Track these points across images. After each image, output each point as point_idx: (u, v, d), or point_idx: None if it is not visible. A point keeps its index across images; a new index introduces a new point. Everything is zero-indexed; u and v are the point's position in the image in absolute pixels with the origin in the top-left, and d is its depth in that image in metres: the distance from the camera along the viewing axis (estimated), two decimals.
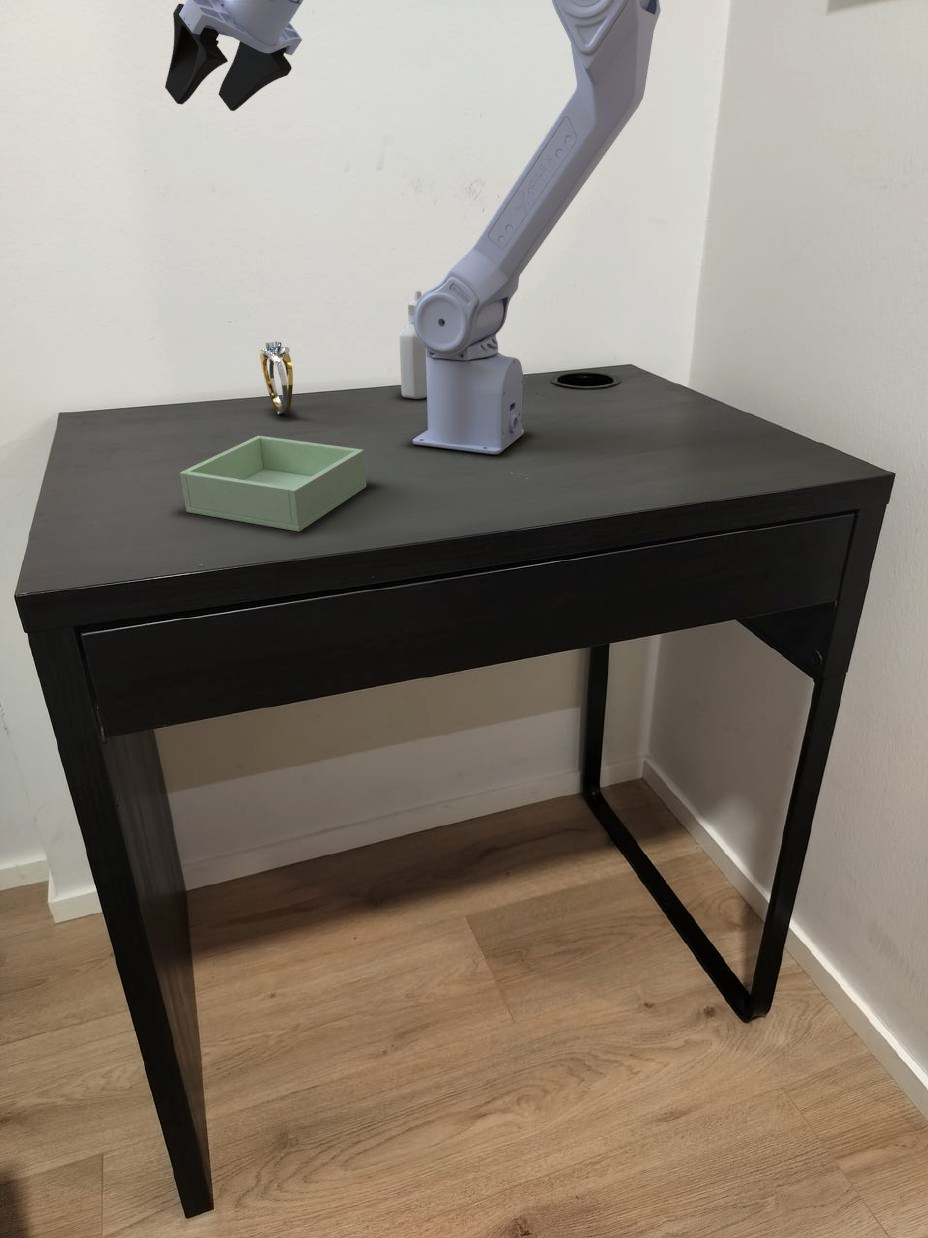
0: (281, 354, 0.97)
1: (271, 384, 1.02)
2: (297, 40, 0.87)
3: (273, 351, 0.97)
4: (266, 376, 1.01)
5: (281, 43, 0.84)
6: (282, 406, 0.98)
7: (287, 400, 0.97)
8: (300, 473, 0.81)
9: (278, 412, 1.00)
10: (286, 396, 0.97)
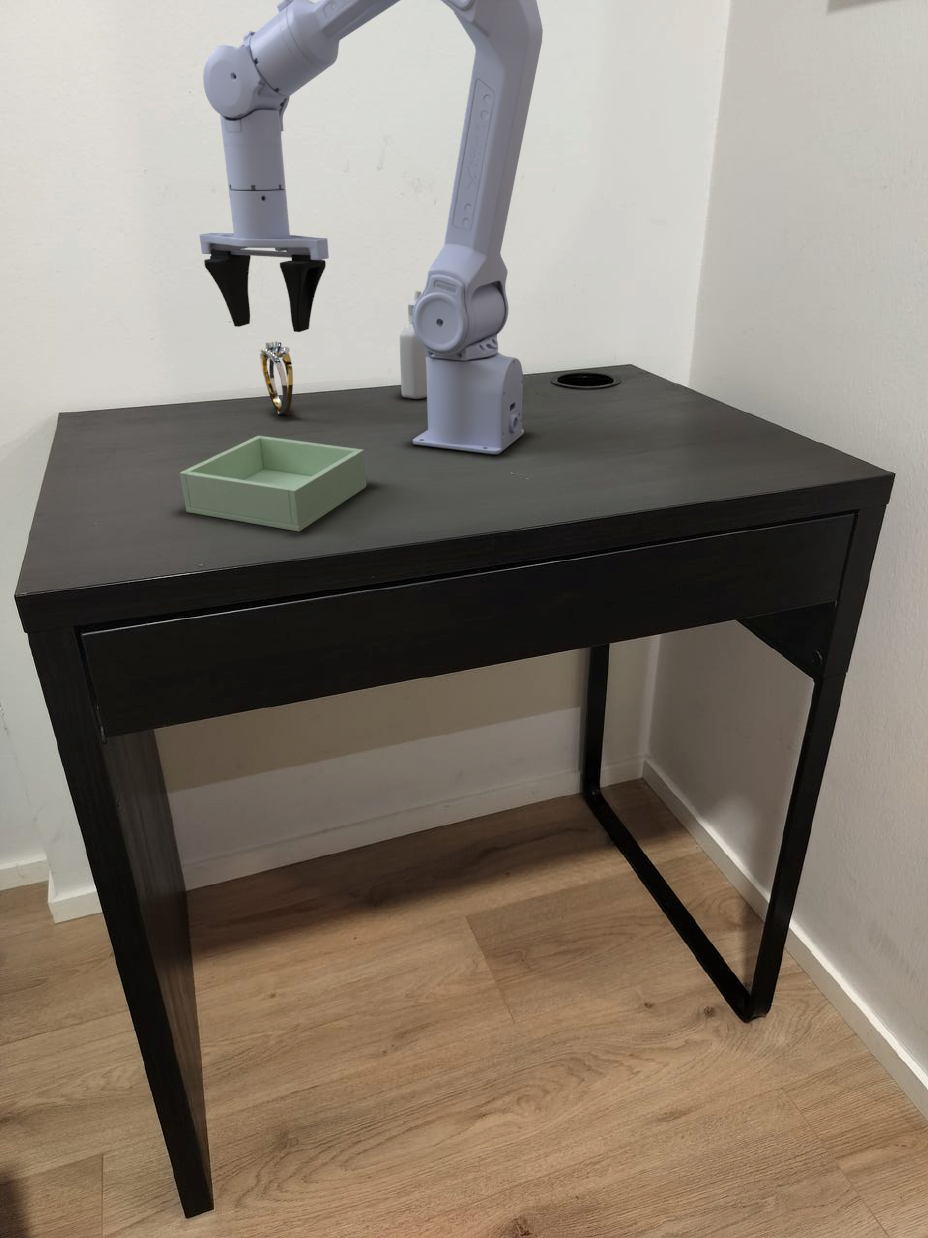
0: (281, 354, 0.97)
1: (271, 384, 1.02)
2: (311, 241, 0.89)
3: (273, 351, 0.97)
4: (266, 376, 1.01)
5: (270, 239, 0.89)
6: (282, 406, 0.98)
7: (287, 400, 0.97)
8: (300, 473, 0.81)
9: (278, 412, 1.00)
10: (286, 396, 0.97)
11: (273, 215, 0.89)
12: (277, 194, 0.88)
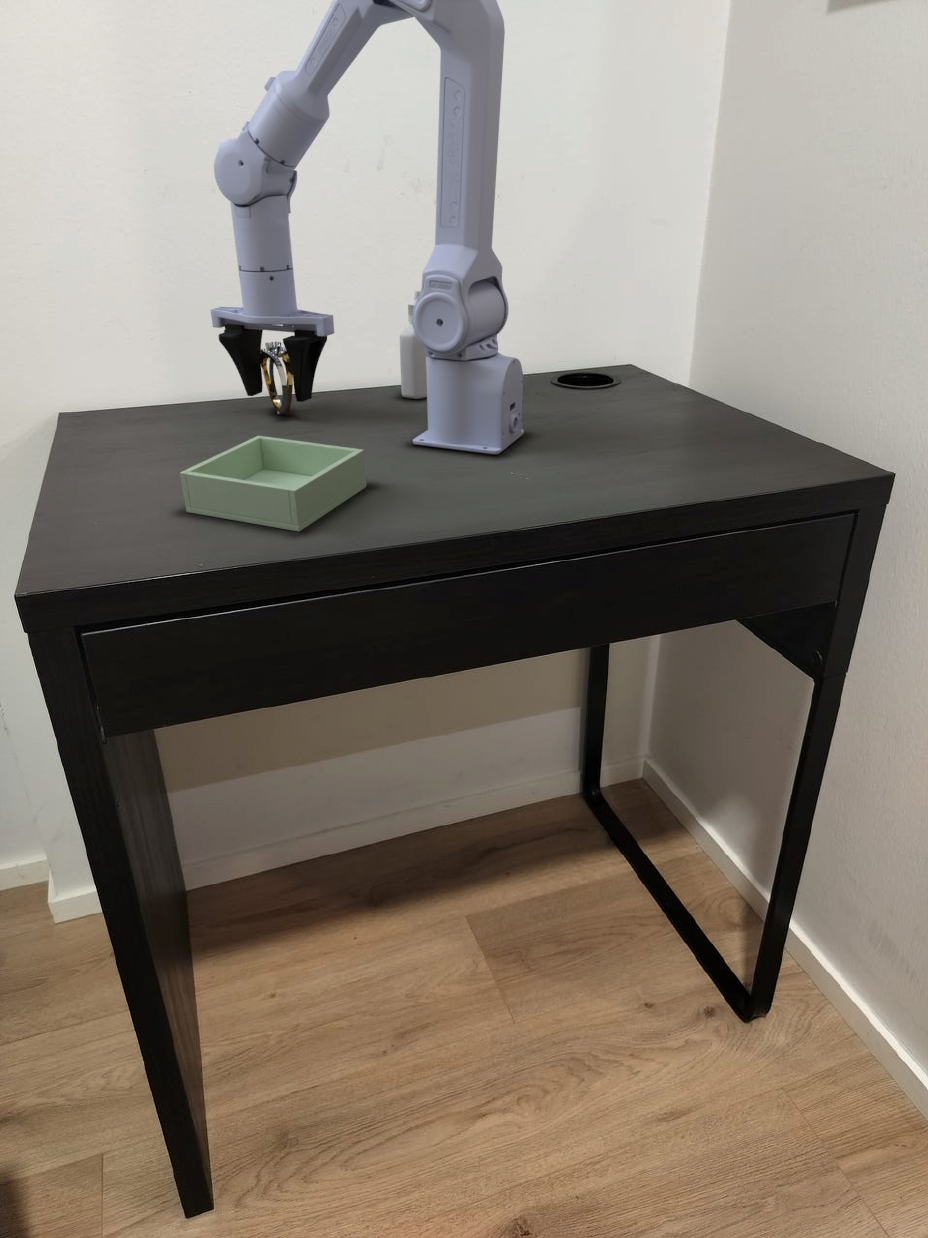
0: (281, 354, 0.97)
1: (271, 384, 1.02)
2: (317, 319, 0.92)
3: (273, 351, 0.97)
4: (266, 376, 1.01)
5: (278, 317, 0.93)
6: (282, 406, 0.98)
7: (287, 400, 0.97)
8: (300, 473, 0.81)
9: (278, 412, 1.00)
10: (286, 396, 0.97)
11: (281, 294, 0.92)
12: (285, 274, 0.92)
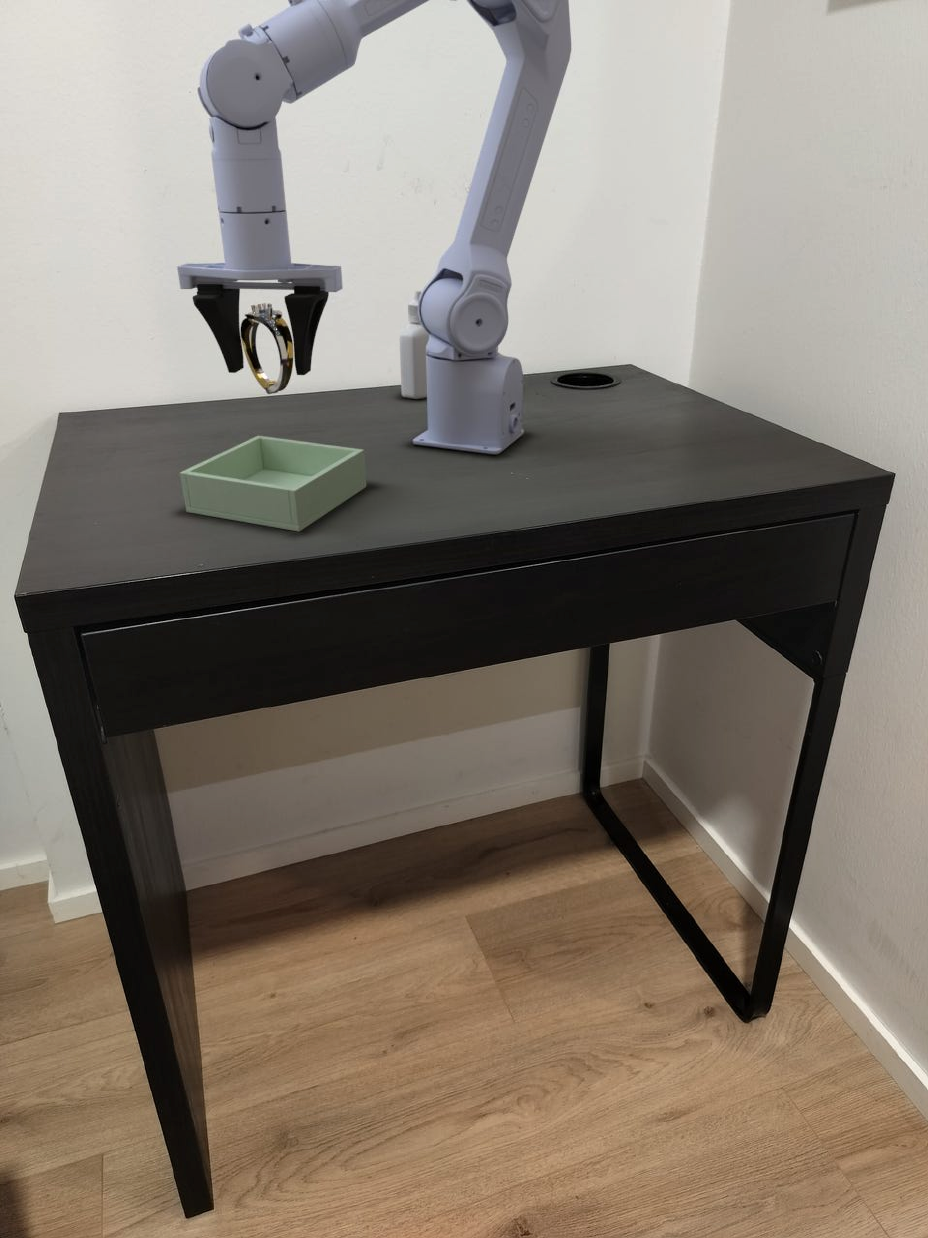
0: (273, 318, 0.79)
1: (253, 358, 0.84)
2: (326, 271, 0.76)
3: (263, 315, 0.79)
4: (248, 348, 0.83)
5: (277, 270, 0.75)
6: (279, 382, 0.81)
7: (286, 374, 0.80)
8: (300, 473, 0.81)
9: (269, 391, 0.82)
10: (286, 369, 0.79)
11: (278, 241, 0.75)
12: (281, 216, 0.75)
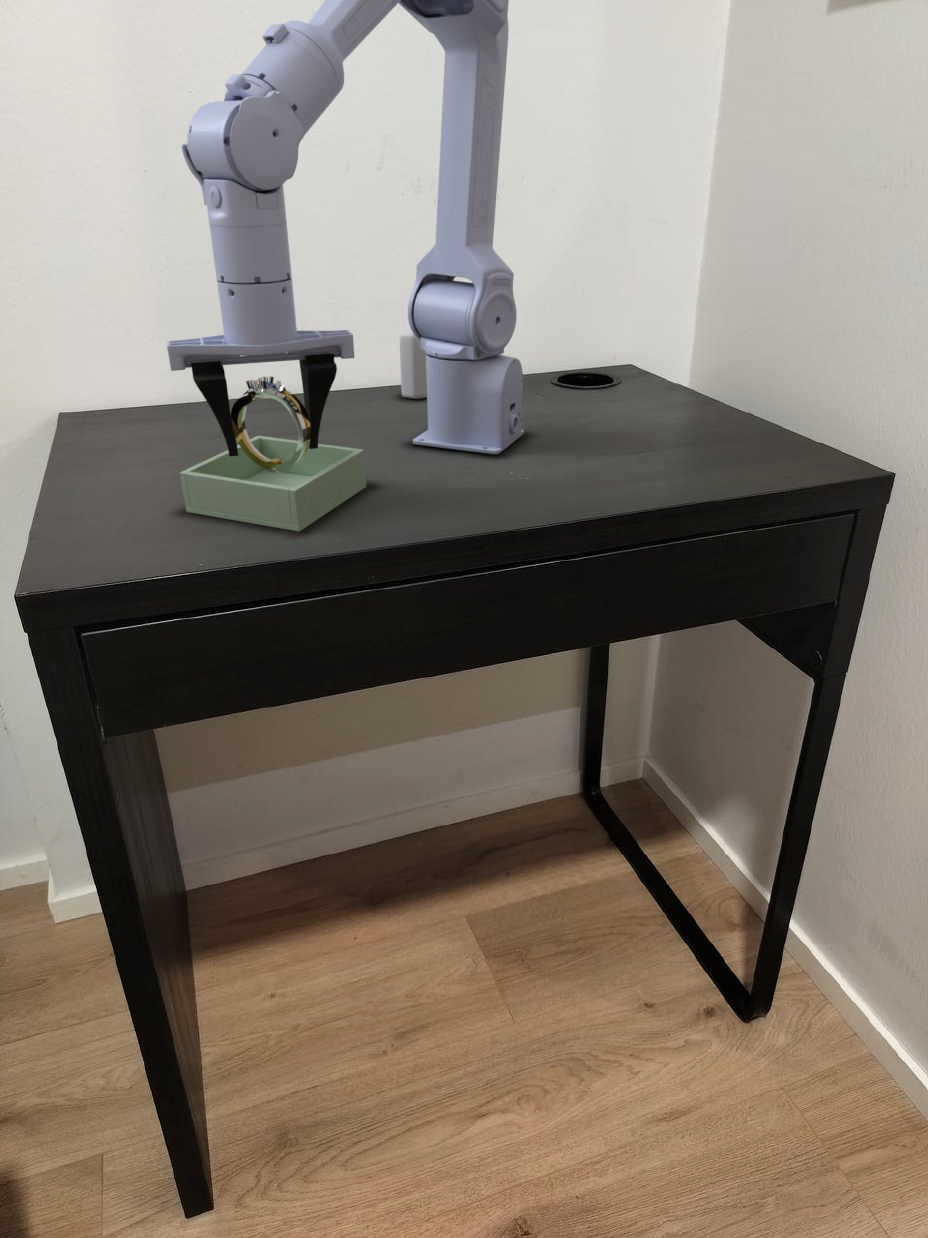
0: (280, 392, 0.73)
1: (243, 436, 0.75)
2: (344, 337, 0.71)
3: (268, 390, 0.72)
4: (239, 426, 0.75)
5: (297, 341, 0.69)
6: (294, 459, 0.74)
7: (303, 450, 0.74)
8: (300, 473, 0.81)
9: (276, 469, 0.75)
10: (305, 445, 0.73)
11: (292, 310, 0.69)
12: None
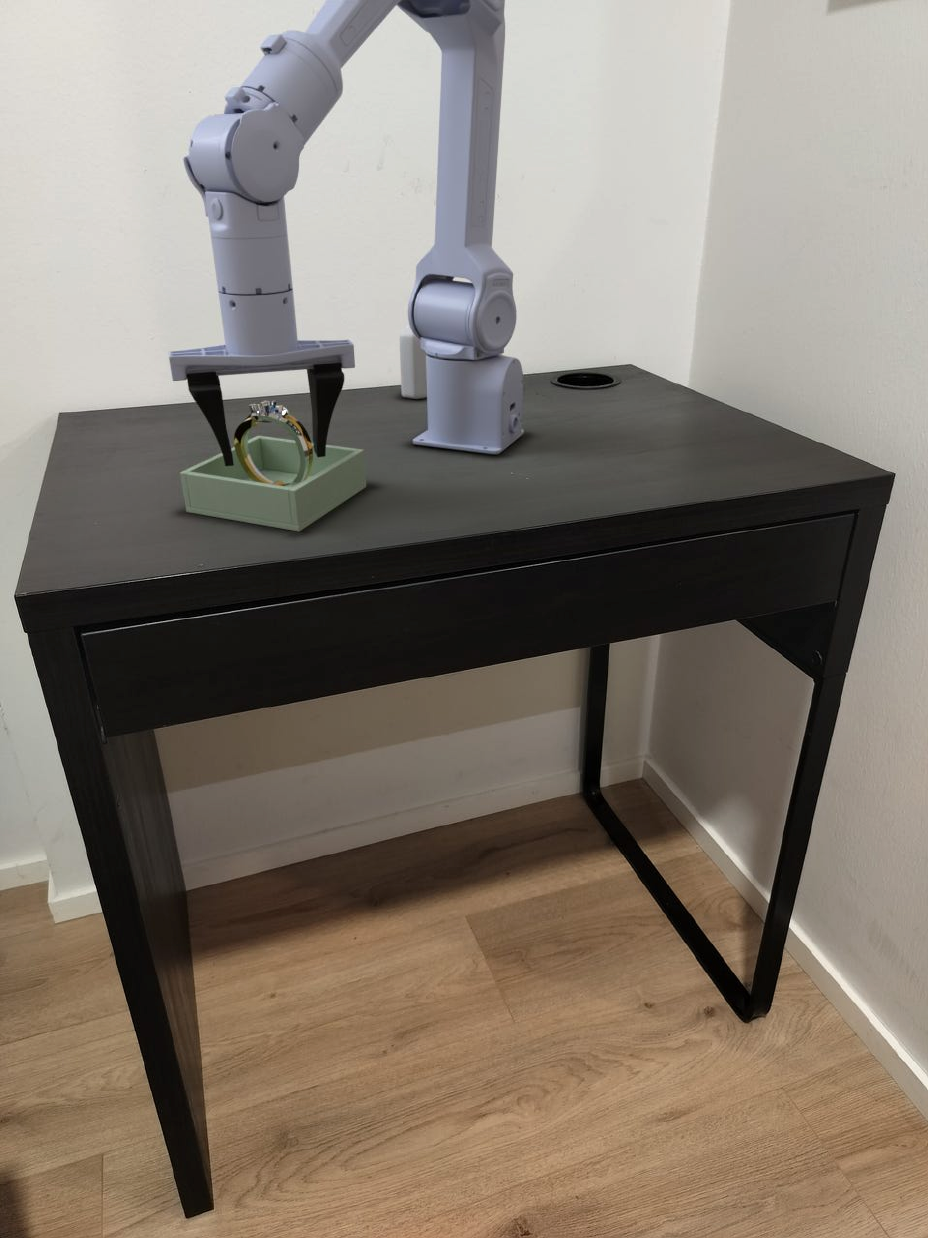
0: (282, 416, 0.74)
1: (246, 459, 0.76)
2: (345, 347, 0.72)
3: (271, 414, 0.73)
4: (242, 450, 0.76)
5: (298, 351, 0.70)
6: (297, 482, 0.75)
7: (305, 473, 0.75)
8: None
9: None
10: (307, 468, 0.74)
11: (293, 321, 0.69)
12: None
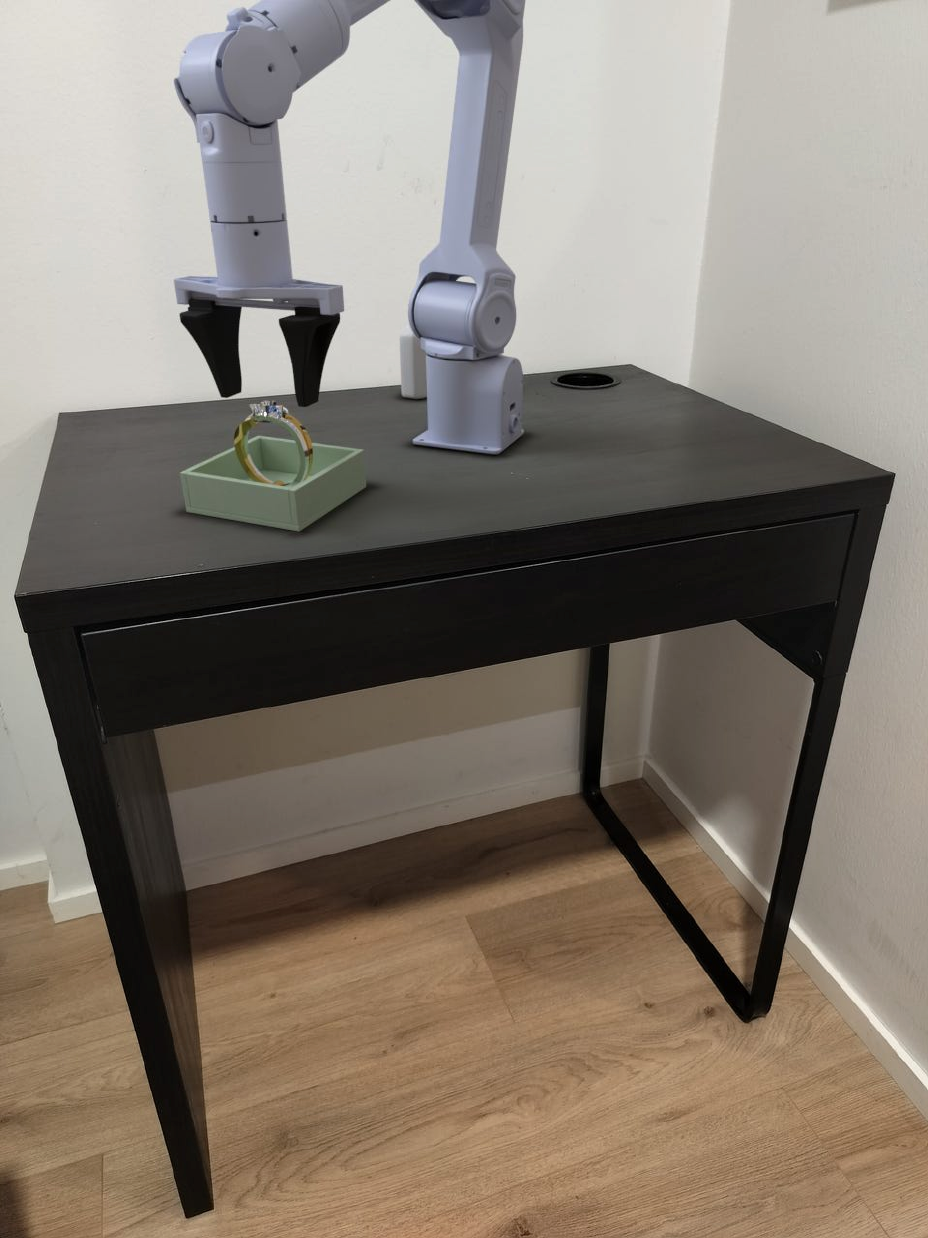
0: (282, 416, 0.74)
1: (246, 459, 0.76)
2: None
3: (271, 414, 0.73)
4: (242, 450, 0.76)
5: None
6: (297, 482, 0.75)
7: (305, 473, 0.75)
8: None
9: None
10: (307, 468, 0.74)
11: None
12: None
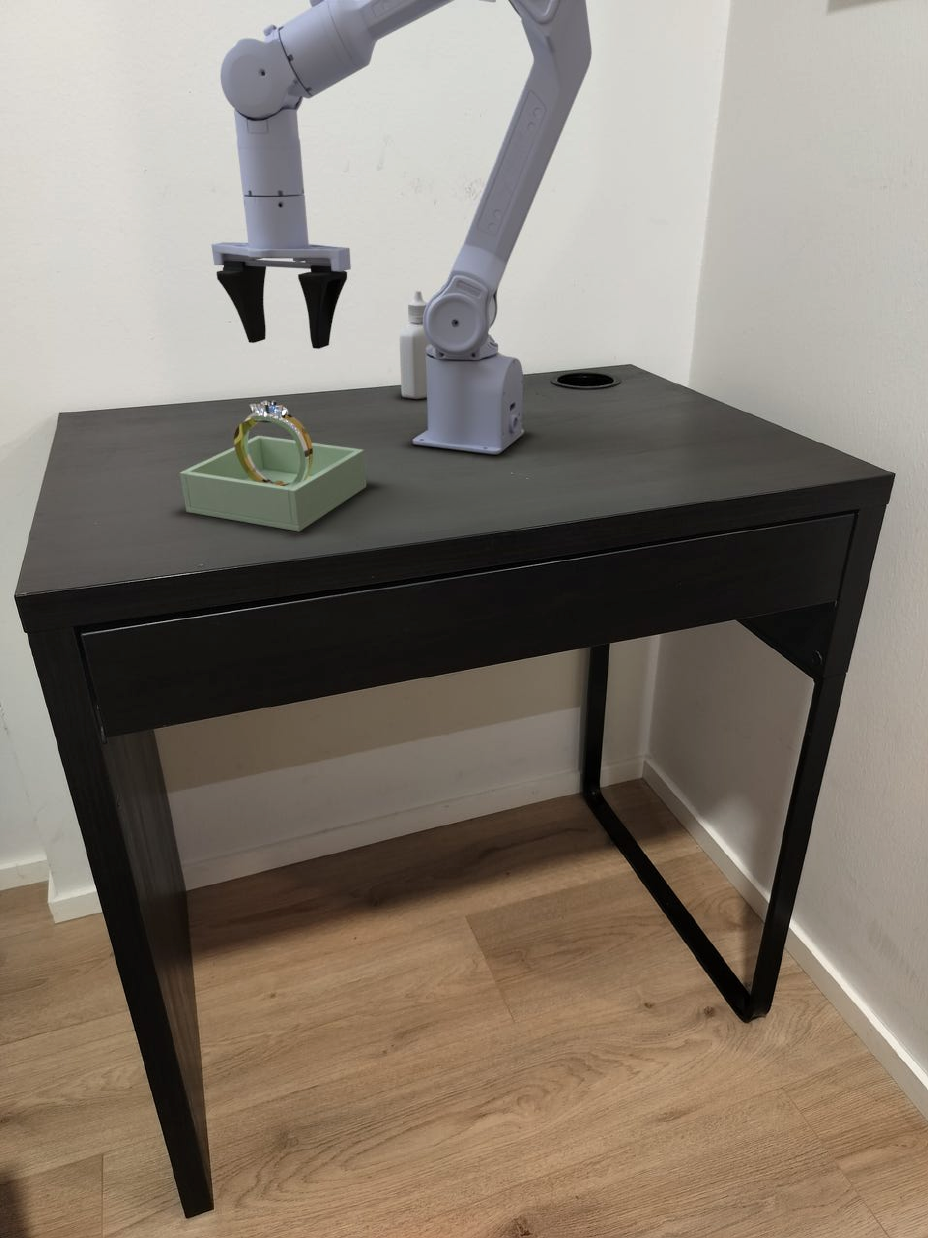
0: (282, 416, 0.74)
1: (246, 459, 0.76)
2: None
3: (271, 414, 0.73)
4: (242, 450, 0.76)
5: None
6: (297, 482, 0.75)
7: (305, 473, 0.75)
8: None
9: None
10: (307, 468, 0.74)
11: None
12: None
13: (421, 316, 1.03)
